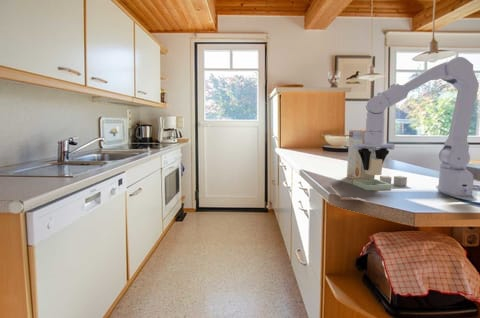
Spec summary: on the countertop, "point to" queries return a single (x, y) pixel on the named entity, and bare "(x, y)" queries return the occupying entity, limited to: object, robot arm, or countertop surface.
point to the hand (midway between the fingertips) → (372, 169)
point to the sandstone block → (374, 166)
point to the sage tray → (364, 182)
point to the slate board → (399, 187)
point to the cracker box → (357, 155)
